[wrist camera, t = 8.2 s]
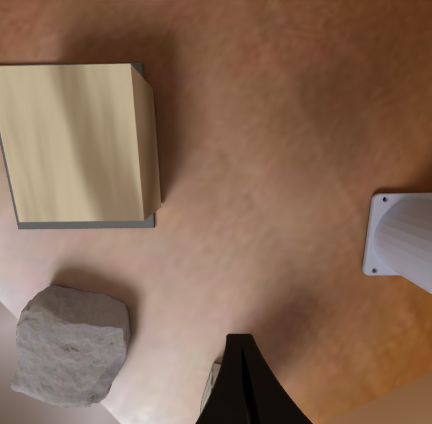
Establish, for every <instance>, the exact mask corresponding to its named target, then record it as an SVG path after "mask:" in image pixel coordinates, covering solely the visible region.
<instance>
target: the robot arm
mask: <svg viewBox="0 0 432 424" xmlns="http://www.w3.org/2000/svg"><path fill="white" fill-rule="evenodd" d="M384 197H385V200H384V201H383V198H384ZM374 268H375V270H374V271H372V270H373V269H374ZM362 271H363V273H364V274H366V275H402V276H403V277H405V278H406V279H408V280H410V281H411V282H413V283H414V284H416V285H418V286H419V287H421V288H423V289H424V290H426V291H427V292H429V293H431V294H432V193H378V194H375V195H374V196H373V197H372V201H371V208H370V216H369V223H368V230H367V238H366V245H365V252H364V260H363V267H362ZM196 424H313V423H312V422H311V421H310V420H309V419H308V418H307V417H306V416H305V415H304V414H303V413H302V411H301V410H300V409H299V408H298V407H297V405H296V404H295V403H294V402H293V400H292V399H291V398H290V397H289V395H288V394H287V393H286V391H285V390H284V389H283V387H282V386H281V385H280V383H279V382H278V380H277V379H276V377H275V376H274V374H273V373H272V371H271V370H270V368H269V366H268V365H267V363H266V361H265V360H264V358H263V356H262V354H261V352H260V351H259V349H258V347H257V345H256V343H255V340H254V338H253V336H252V335H251V334H228V335H227V336H226V347H225V352H224V356H223V360H222V363H221V367H220V370H219V373H218V375H217V378H216V381H215V384H214V386H213V389H212V391H211V394H210V396H209V398H208V400H207V402H206V404H205V406H204V408H203V411H202V413H201V414H200V416H199V418H198V420H197V422H196Z"/></svg>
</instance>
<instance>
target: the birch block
mask: <svg viewBox="0 0 432 424" xmlns="http://www.w3.org/2000/svg"><path fill="white" fill-rule="evenodd" d="M0 134H1V138H2V143H3V148H4V152H5V157H6V162H7V167H8V171H9V176H10V181H11V186H12V190H13V195H14V200H15V205H16V209H17V214H18V219H19V222H71V221H144V220H145V219H147V218H148V217H149V216H151V215H152V214H153V213H154V212H156V211H157V210H158V209H159V208H161V195H160V180H159V166H158V151H157V136H156V122H155V107H154V93H153V88H152V87H151V86H150V85H149V84H148V83H147V82H146V81H145V79H144V78H143V77H142V76H141V75H140V74H139V73H138V72H137V70H136V69H135V68H134V67H133V66H132V65H131V64H91V65H42V66H0Z"/></svg>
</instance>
